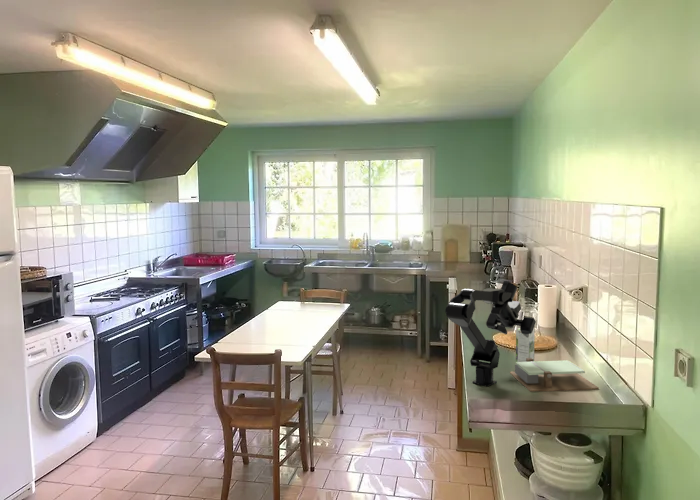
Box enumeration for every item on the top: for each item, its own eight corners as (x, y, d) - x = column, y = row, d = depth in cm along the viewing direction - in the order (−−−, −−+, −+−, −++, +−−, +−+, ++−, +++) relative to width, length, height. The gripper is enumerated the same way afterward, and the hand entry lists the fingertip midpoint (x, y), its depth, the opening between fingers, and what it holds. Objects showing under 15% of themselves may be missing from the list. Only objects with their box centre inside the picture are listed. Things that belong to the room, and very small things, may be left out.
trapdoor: (527, 384, 191) (527, 372, 191) (514, 372, 205) (514, 361, 205) (584, 382, 192) (584, 370, 191) (567, 370, 206) (567, 359, 205)
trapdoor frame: (530, 391, 187) (530, 374, 187) (509, 373, 209) (509, 357, 209) (598, 389, 188) (598, 372, 187) (571, 370, 210) (571, 355, 209)
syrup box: (520, 360, 226) (520, 326, 225) (534, 363, 222) (534, 328, 221) (515, 363, 221) (515, 329, 220) (529, 366, 218) (529, 330, 217)
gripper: (533, 297, 205) (546, 321, 213) (489, 293, 217) (502, 316, 226) (524, 321, 199) (537, 344, 208) (479, 315, 212) (493, 338, 221)
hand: (517, 334), depth 216 cm, fingers open, 9 cm apart
